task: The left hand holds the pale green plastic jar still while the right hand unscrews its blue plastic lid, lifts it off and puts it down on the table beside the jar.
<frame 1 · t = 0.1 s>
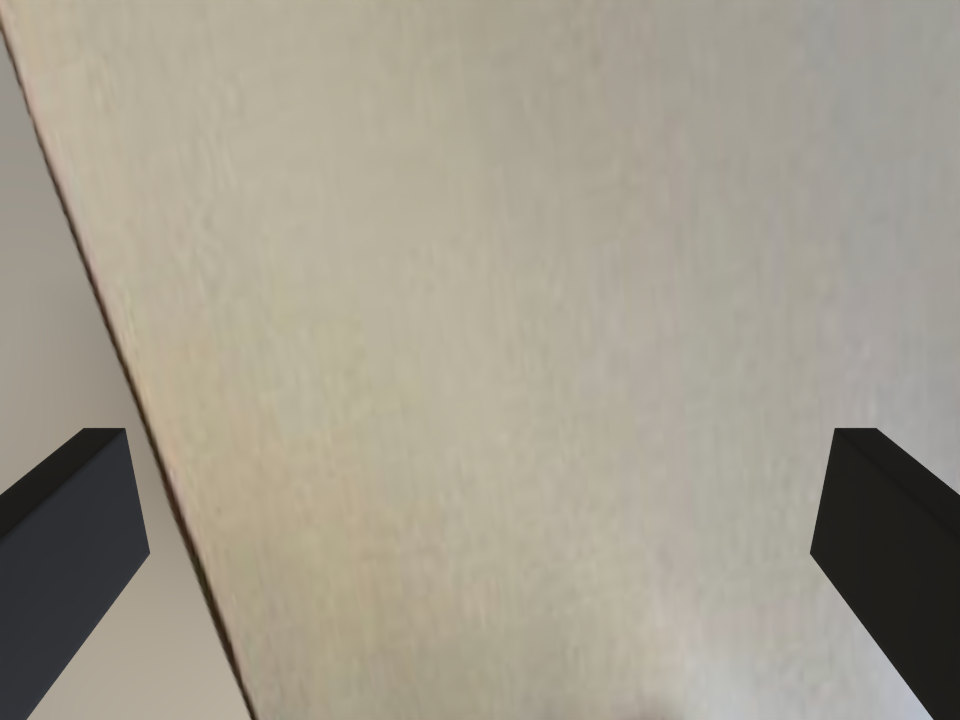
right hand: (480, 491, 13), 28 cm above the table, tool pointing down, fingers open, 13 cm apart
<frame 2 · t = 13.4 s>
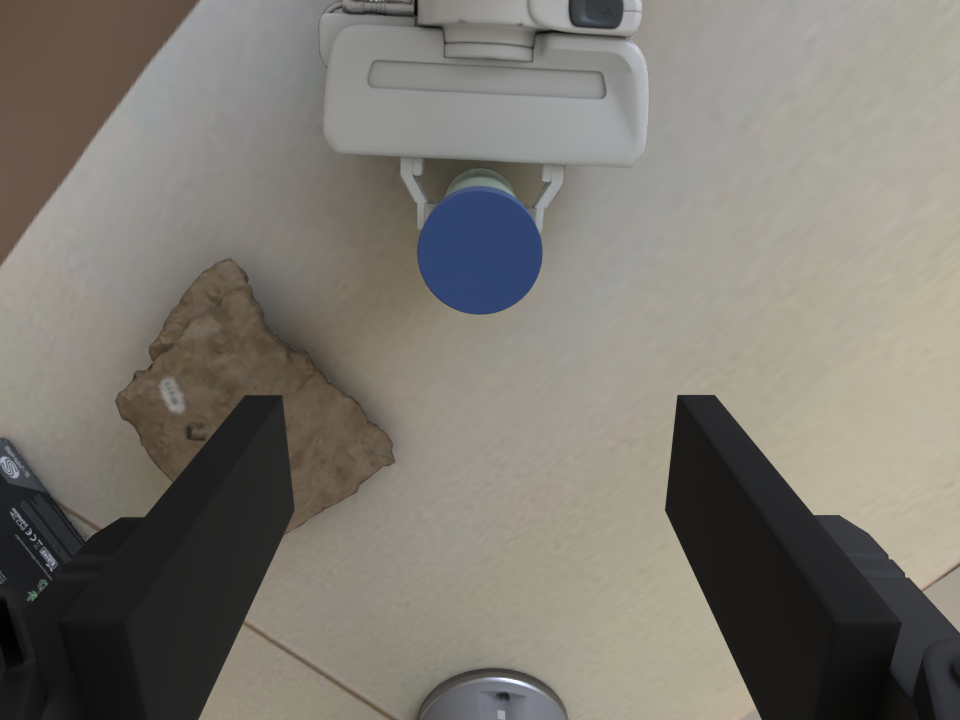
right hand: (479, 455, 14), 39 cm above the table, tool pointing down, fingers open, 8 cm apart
left hand: (480, 231, 46), fingers closed on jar, 5 cm apart
graphics card box: (40, 519, 60), on the table
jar: (479, 205, 51), on the table, touching left hand
stone: (267, 400, 57), on the table
lid: (479, 253, 34), point 18 cm above the table, screwed on, not yet turned
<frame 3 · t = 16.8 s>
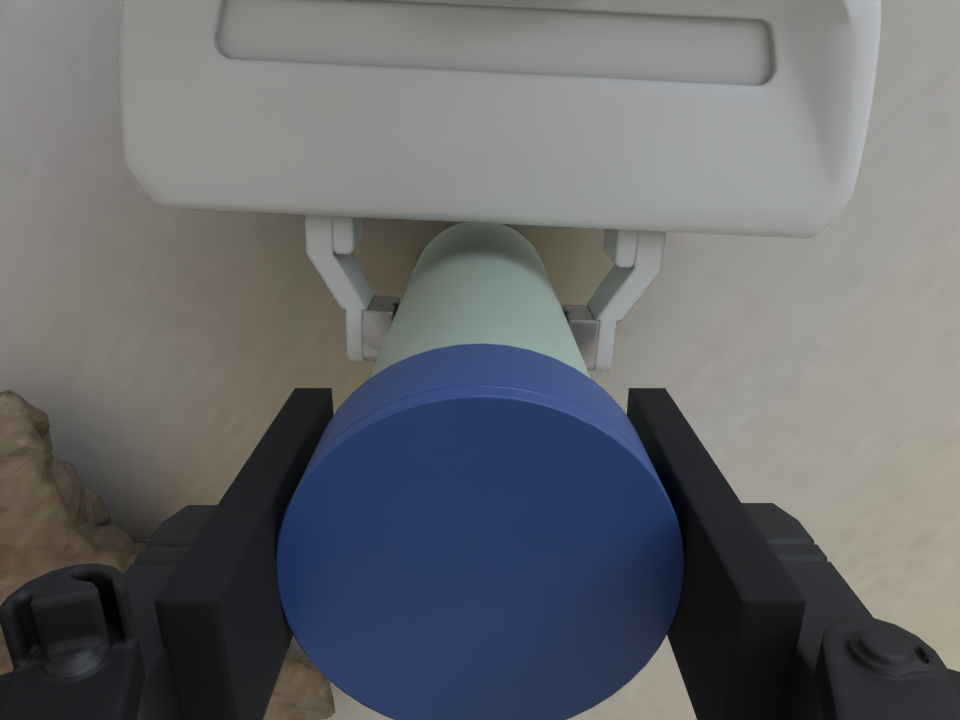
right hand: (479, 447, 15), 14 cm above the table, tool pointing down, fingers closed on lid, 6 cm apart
left hand: (480, 360, 22), fingers closed on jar, 5 cm apart
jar: (479, 288, 28), on the table, touching left hand
stone: (115, 607, 33), on the table
lid: (480, 569, 11), point 18 cm above the table, screwed on, not yet turned, touching right hand
when the right hand's fingers open (14 cm above the table, at t = 18.1 s): lid stays where it is, point 18 cm above the table.
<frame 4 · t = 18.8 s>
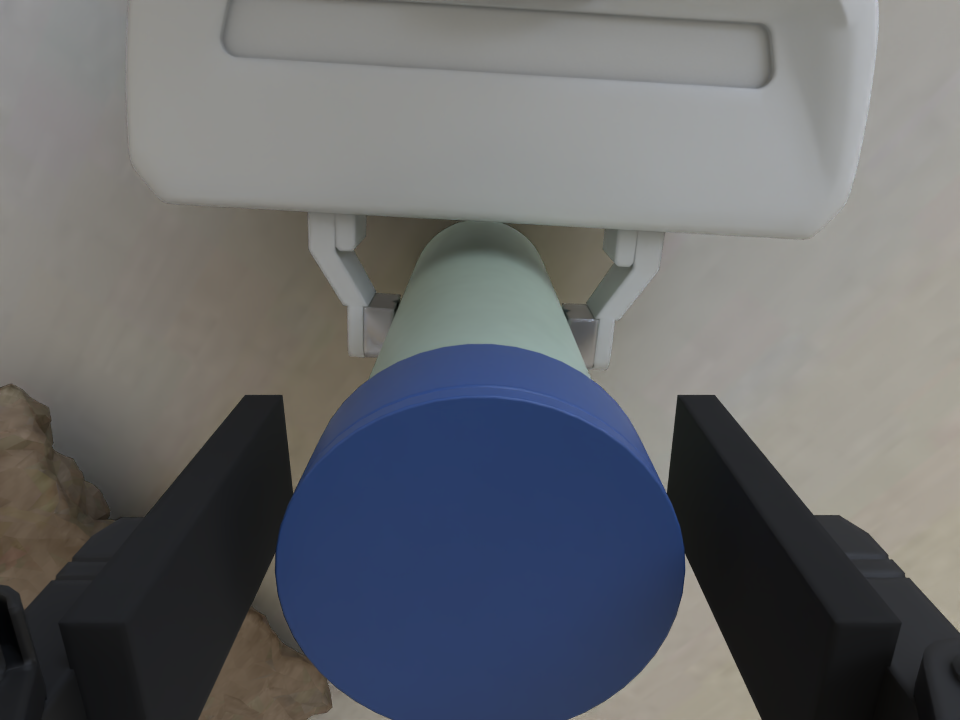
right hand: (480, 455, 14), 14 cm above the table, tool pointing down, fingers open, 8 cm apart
left hand: (479, 358, 22), fingers closed on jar, 5 cm apart
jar: (479, 286, 28), on the table, touching left hand
stone: (114, 601, 33), on the table
lid: (480, 569, 11), point 18 cm above the table, turned 80° so far, risen 0.2 cm, still on its thread
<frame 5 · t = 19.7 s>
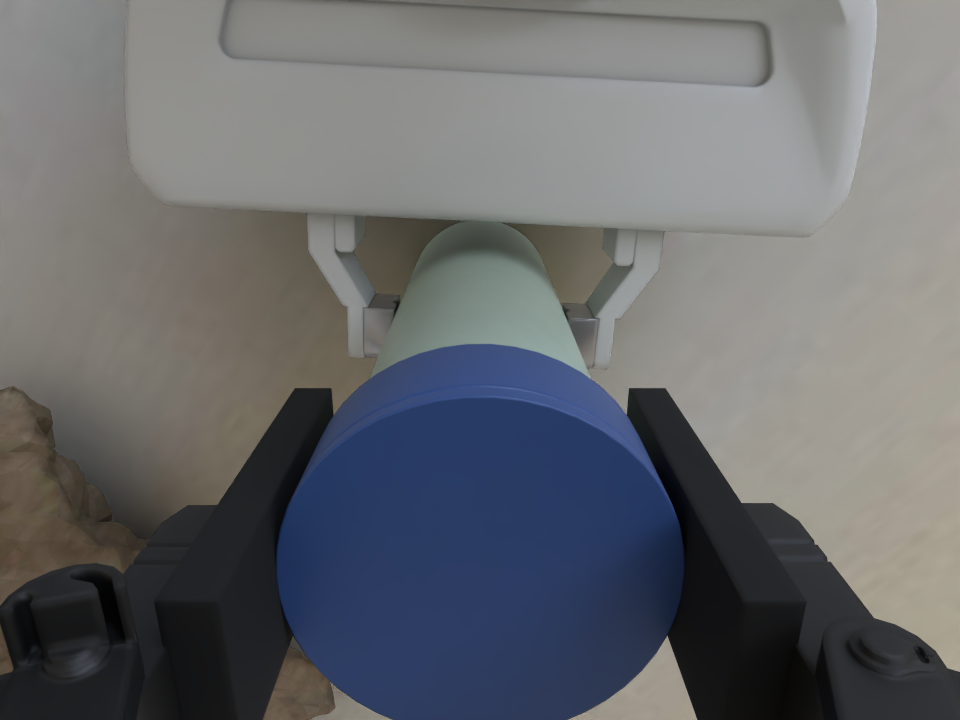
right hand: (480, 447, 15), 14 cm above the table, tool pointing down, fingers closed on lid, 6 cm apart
left hand: (480, 358, 22), fingers closed on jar, 5 cm apart
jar: (480, 286, 28), on the table, touching left hand
stone: (116, 602, 33), on the table
lid: (480, 569, 11), point 18 cm above the table, turned 80° so far, risen 0.2 cm, still on its thread, touching right hand
when the right hand's fingers open (0 cm above the table, at t = 29.9 s): lid drops 2 cm, point 2 cm above the table.
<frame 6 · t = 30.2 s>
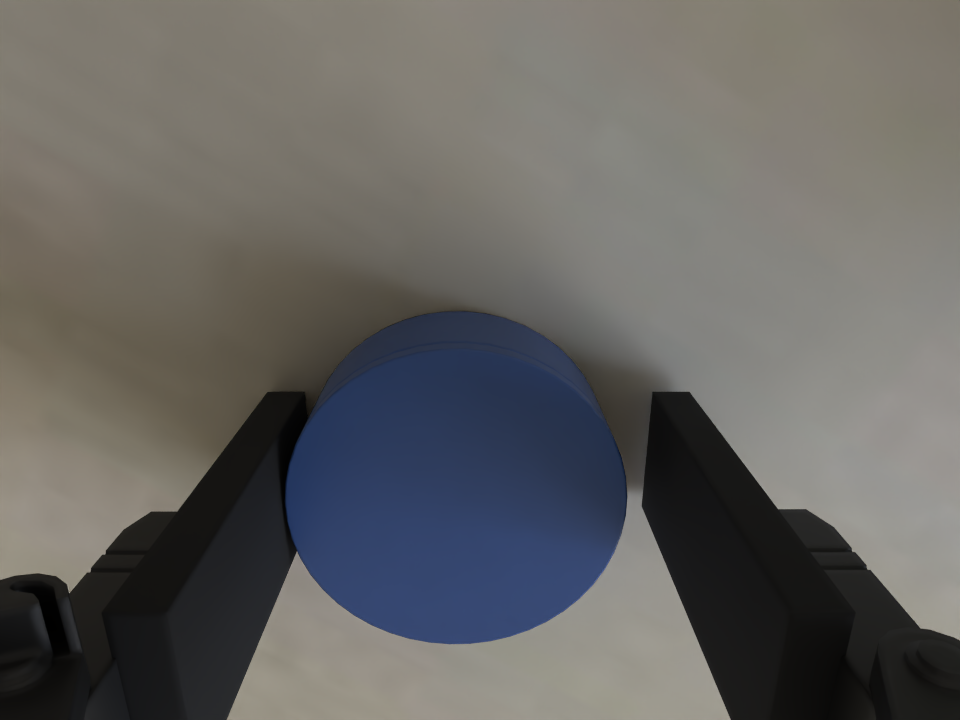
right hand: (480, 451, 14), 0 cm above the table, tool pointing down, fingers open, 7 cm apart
lid: (457, 499, 13), point 2 cm above the table, off its thread
when the left hand's fingers open (6 cm above the table, at t = 31.1 s): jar stays where it is, on the table.
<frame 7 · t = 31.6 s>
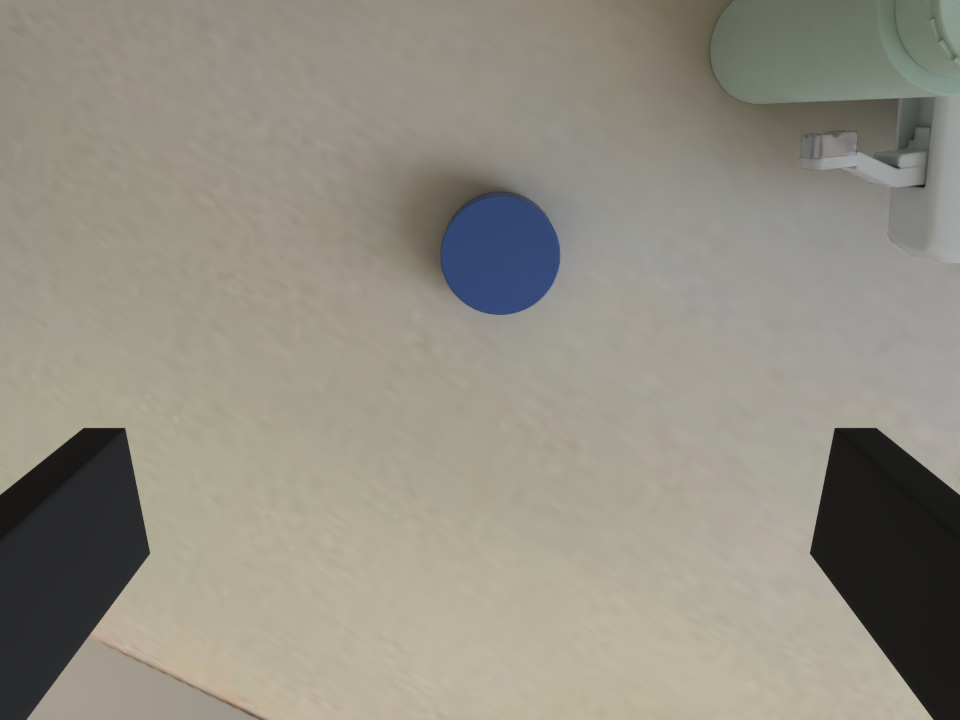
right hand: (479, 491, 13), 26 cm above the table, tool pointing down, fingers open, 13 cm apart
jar: (765, 45, 34), on the table
lid: (500, 256, 36), point 2 cm above the table, off its thread
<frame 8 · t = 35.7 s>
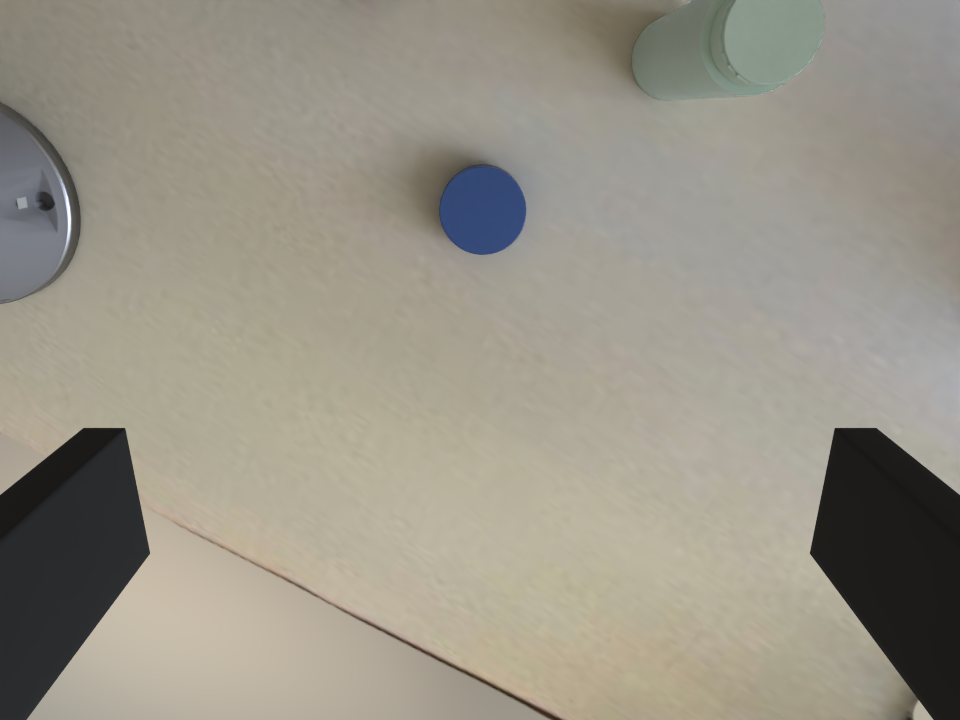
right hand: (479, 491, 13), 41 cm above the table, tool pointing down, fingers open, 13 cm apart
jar: (670, 58, 48), on the table
lid: (482, 211, 49), point 2 cm above the table, off its thread
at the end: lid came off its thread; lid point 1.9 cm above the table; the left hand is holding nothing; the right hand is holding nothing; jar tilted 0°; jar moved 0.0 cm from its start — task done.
